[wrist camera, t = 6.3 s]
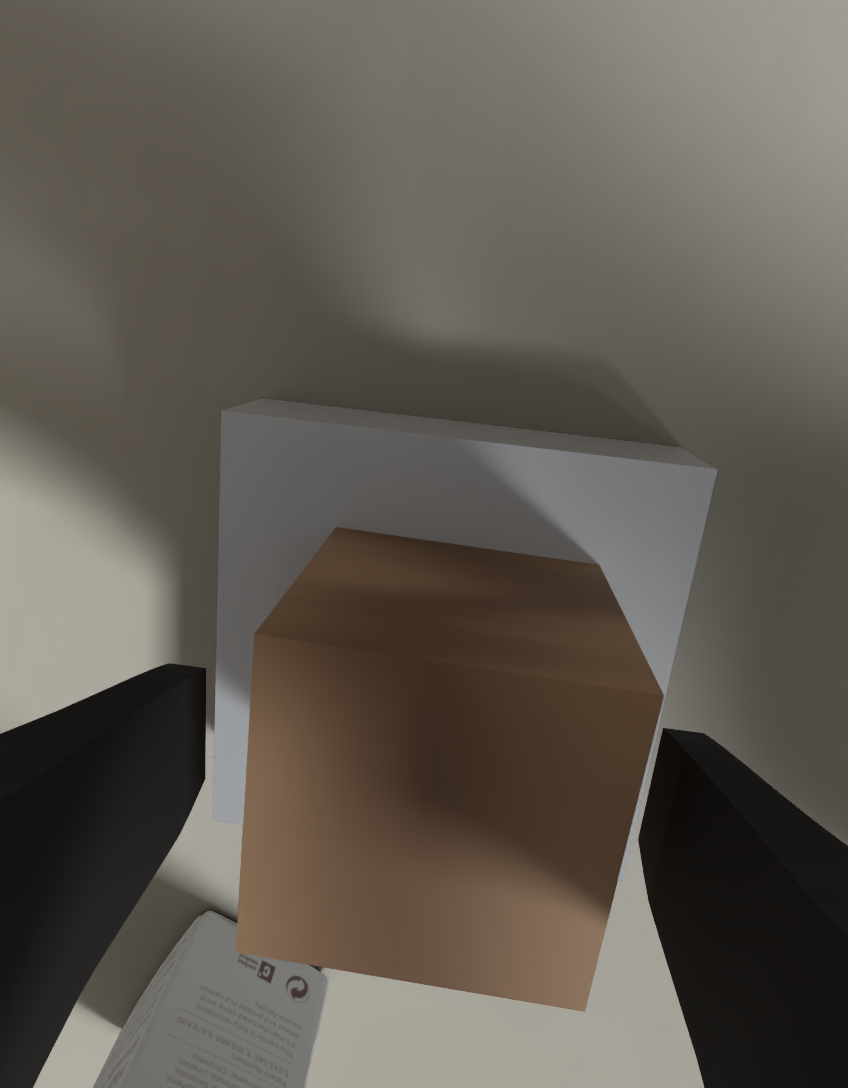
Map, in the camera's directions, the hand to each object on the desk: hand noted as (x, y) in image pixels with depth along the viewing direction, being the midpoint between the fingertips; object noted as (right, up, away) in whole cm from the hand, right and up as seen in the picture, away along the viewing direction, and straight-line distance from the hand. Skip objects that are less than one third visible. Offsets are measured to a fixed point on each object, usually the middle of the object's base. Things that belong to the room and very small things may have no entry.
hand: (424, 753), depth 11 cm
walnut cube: (0, +1, +3) cm, 3 cm away
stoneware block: (+1, +2, +6) cm, 6 cm away
